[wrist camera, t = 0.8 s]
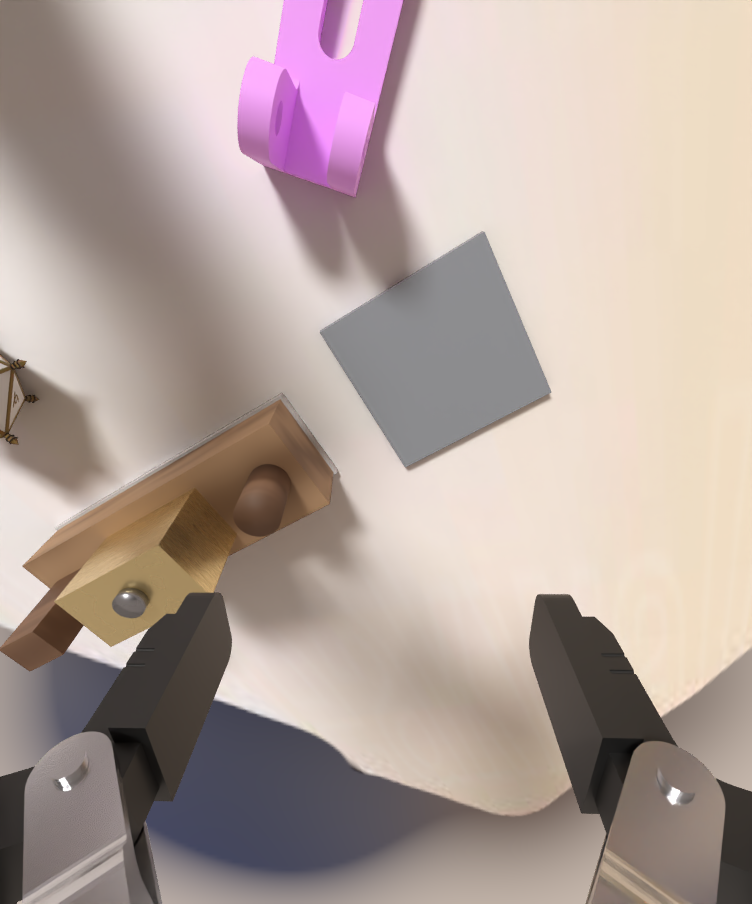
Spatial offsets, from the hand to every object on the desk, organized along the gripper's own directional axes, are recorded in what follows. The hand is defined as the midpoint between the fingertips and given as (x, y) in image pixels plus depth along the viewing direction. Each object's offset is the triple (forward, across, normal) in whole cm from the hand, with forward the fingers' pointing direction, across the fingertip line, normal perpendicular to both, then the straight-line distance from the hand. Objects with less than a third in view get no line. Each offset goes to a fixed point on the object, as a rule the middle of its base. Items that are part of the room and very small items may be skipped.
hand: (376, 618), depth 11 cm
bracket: (+22, +2, -18) cm, 29 cm away
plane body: (+22, +16, +9) cm, 29 cm away
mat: (+23, -4, -1) cm, 23 cm away
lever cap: (+17, +15, +9) cm, 25 cm away
